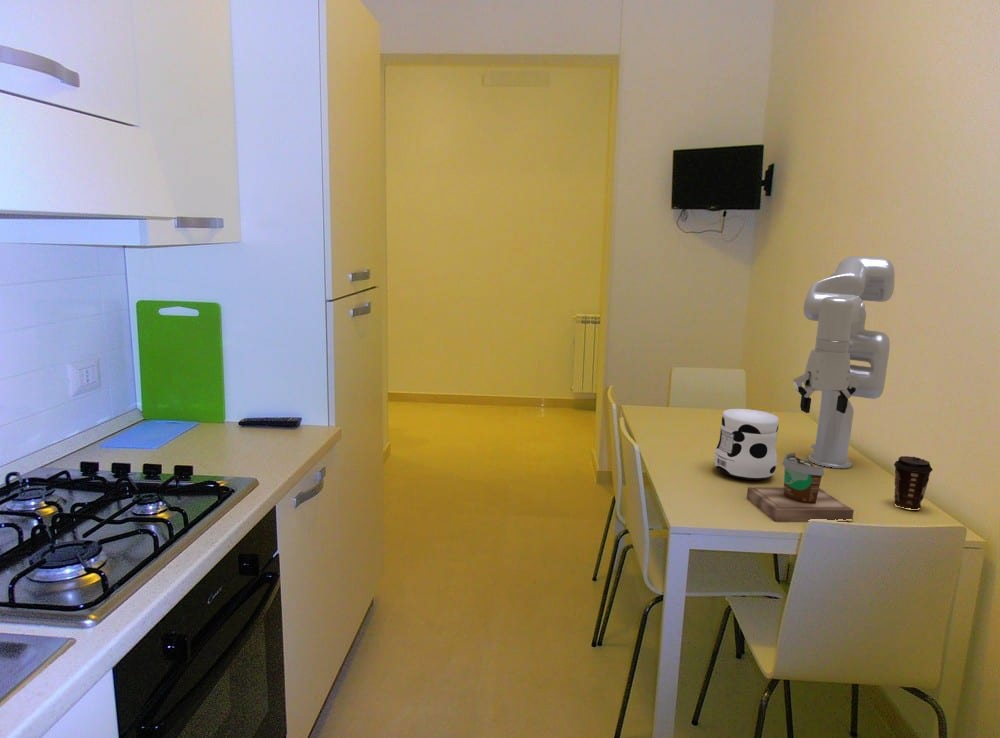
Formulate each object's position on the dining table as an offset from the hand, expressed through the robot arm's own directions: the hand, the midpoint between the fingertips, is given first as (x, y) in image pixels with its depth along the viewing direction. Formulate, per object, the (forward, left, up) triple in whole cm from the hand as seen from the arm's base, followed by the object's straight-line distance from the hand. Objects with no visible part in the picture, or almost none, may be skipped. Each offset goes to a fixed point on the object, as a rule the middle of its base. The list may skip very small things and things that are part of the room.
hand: (822, 411), depth 186 cm
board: (+4, -6, -25) cm, 26 cm away
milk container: (-23, -8, -25) cm, 35 cm away
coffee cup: (+2, +26, -25) cm, 37 cm away
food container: (+3, -7, -22) cm, 23 cm away
